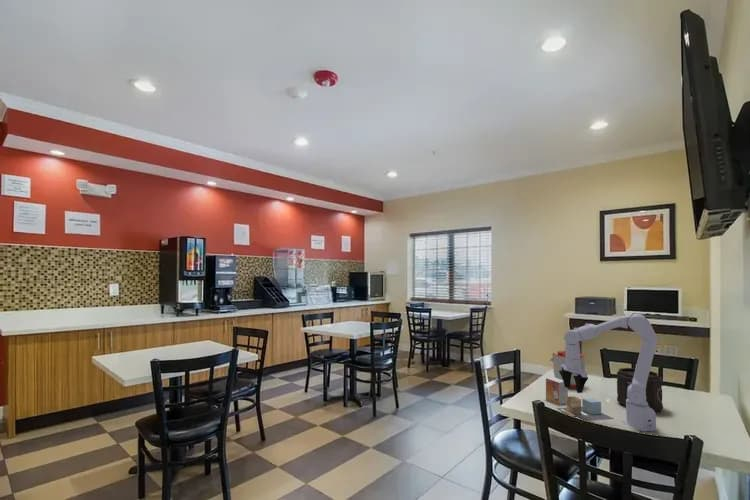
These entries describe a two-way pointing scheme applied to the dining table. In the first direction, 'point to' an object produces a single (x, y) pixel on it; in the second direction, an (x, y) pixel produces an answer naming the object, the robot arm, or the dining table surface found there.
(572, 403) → the maple block
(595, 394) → the dining table surface
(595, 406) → the blue cube
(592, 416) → the letter mat
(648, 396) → the wooden barrel
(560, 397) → the small box
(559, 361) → the citrus juicer
